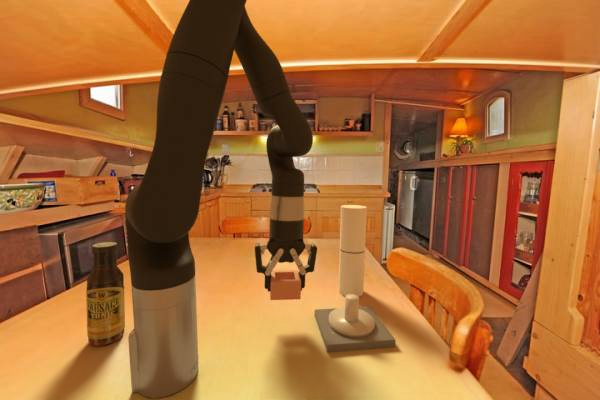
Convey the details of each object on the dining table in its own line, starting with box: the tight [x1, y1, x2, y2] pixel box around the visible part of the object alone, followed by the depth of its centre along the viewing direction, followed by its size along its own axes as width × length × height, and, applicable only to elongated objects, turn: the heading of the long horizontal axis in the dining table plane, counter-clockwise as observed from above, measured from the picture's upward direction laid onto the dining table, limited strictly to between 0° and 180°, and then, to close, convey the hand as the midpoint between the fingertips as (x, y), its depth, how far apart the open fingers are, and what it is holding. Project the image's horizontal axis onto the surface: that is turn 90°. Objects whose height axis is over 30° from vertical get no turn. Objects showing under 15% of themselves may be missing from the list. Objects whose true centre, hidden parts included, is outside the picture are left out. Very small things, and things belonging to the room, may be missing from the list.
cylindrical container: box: [338, 204, 368, 298], centre depth 75 cm, size 7×7×25 cm
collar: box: [269, 270, 302, 301], centre depth 59 cm, size 6×6×4 cm
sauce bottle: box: [85, 241, 126, 347], centre depth 53 cm, size 7×6×20 cm
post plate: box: [314, 294, 396, 353], centre depth 58 cm, size 14×13×8 cm
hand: (284, 289), depth 59 cm, fingers closed on collar, 6 cm apart
